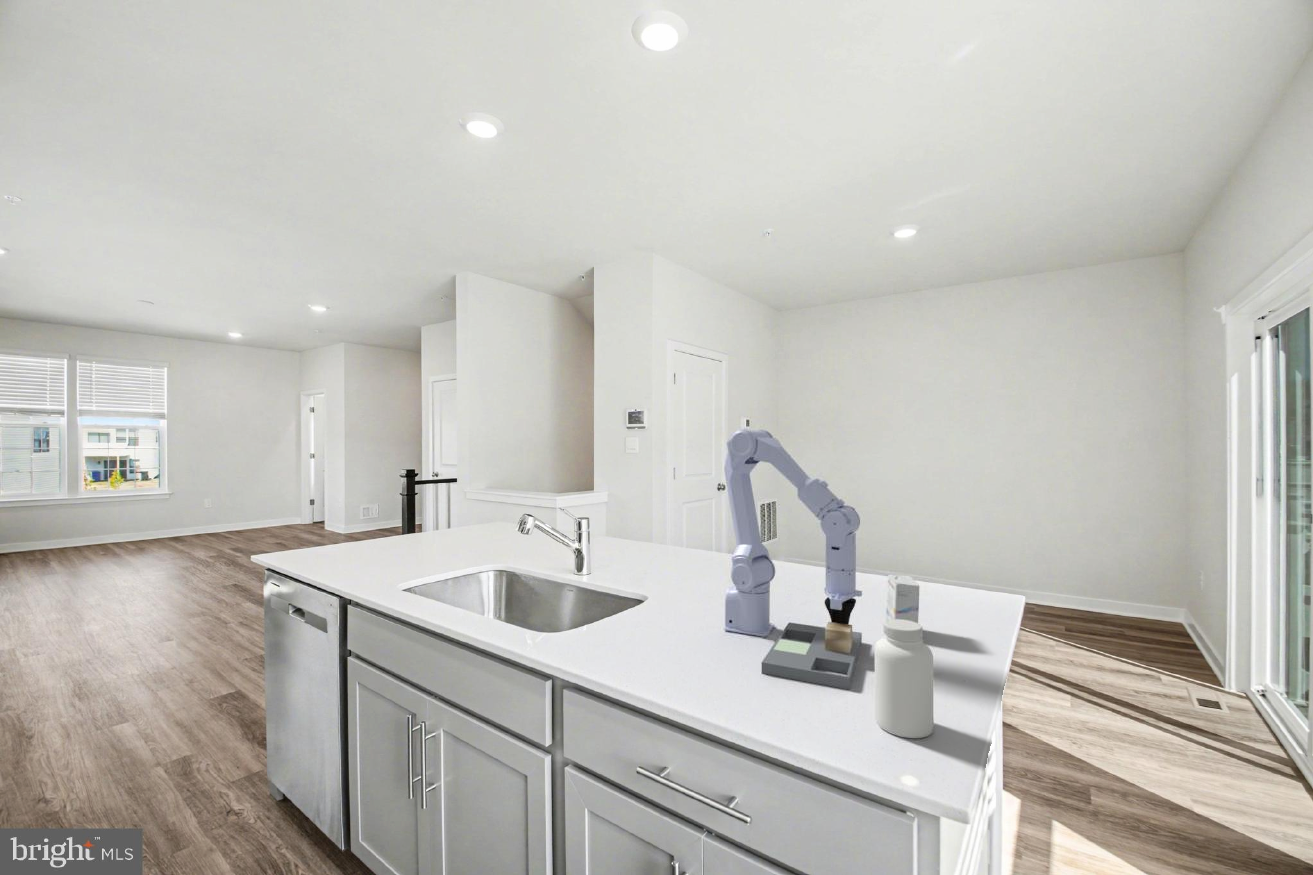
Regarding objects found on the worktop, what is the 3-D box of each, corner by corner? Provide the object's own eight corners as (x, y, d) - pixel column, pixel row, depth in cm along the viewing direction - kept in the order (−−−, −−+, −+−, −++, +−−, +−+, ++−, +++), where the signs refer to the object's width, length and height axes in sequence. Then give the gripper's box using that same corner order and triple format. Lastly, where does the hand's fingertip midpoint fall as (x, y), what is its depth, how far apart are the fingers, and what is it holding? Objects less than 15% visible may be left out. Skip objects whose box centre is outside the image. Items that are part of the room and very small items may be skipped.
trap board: (761, 673, 101) (761, 662, 101) (788, 631, 123) (788, 622, 123) (849, 689, 94) (849, 677, 94) (861, 642, 116) (861, 632, 116)
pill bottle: (864, 713, 86) (865, 616, 86) (914, 711, 87) (915, 615, 87) (890, 741, 78) (891, 634, 78) (945, 739, 79) (945, 633, 79)
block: (824, 649, 107) (825, 628, 107) (828, 641, 111) (828, 621, 111) (849, 653, 105) (849, 632, 105) (852, 645, 109) (852, 624, 109)
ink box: (885, 625, 127) (885, 573, 127) (910, 627, 126) (910, 574, 126) (893, 638, 118) (894, 583, 118) (919, 640, 117) (920, 584, 117)
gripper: (858, 578, 103) (858, 651, 103) (864, 562, 116) (864, 627, 116) (819, 574, 106) (818, 645, 106) (829, 559, 119) (829, 622, 119)
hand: (840, 635), depth 111 cm, fingers closed
